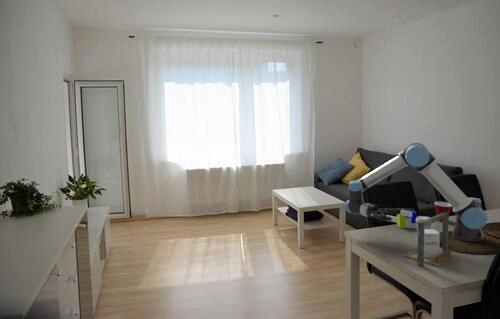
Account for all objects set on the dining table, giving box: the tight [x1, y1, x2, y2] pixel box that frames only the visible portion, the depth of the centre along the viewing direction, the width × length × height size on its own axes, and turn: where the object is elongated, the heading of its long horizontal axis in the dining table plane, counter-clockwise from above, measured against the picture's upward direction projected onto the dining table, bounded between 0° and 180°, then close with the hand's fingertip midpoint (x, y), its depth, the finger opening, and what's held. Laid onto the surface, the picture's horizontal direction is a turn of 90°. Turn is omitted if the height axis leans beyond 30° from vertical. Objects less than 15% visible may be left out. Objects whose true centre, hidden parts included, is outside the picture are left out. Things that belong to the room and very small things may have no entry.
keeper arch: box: [405, 212, 454, 268], centre depth 180 cm, size 16×26×21 cm, turn 127°
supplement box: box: [424, 228, 441, 258], centre depth 181 cm, size 7×7×13 cm
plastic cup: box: [433, 201, 453, 223], centre depth 237 cm, size 11×11×12 cm
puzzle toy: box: [396, 207, 418, 229], centre depth 231 cm, size 10×10×10 cm
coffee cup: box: [416, 215, 432, 235], centre depth 208 cm, size 8×8×12 cm
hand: (405, 217), depth 191 cm, fingers open, 13 cm apart
